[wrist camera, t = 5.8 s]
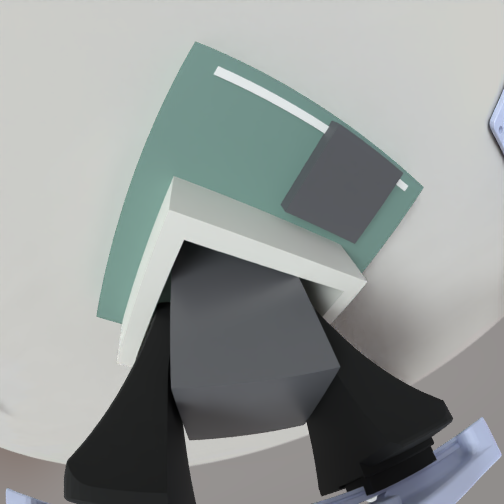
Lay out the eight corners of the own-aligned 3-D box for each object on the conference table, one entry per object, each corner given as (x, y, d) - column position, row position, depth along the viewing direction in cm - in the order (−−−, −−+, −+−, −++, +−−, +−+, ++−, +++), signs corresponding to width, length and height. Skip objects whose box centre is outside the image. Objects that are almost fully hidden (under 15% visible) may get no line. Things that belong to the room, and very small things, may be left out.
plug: (278, 235, 11) (340, 366, 6) (265, 315, 14) (301, 429, 9) (173, 239, 10) (171, 388, 6) (182, 321, 13) (190, 444, 8)
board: (411, 178, 12) (459, 213, 9) (283, 343, 17) (300, 391, 14) (195, 45, 7) (195, 28, 5) (100, 301, 13) (87, 359, 10)
